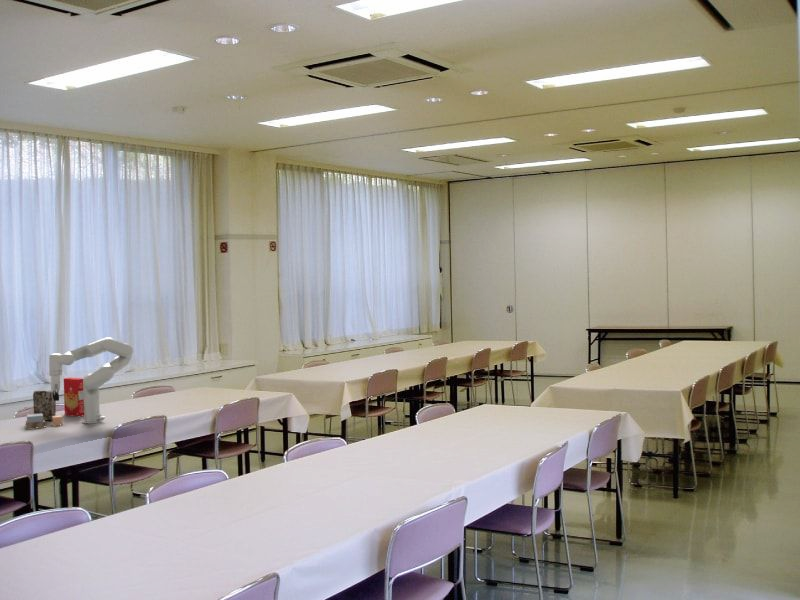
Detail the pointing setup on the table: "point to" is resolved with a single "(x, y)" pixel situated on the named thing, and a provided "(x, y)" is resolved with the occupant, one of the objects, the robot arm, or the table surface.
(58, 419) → the terracotta cube
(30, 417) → the tower top slab
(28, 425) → the tower base slab
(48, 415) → the stone block
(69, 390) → the food packaging
